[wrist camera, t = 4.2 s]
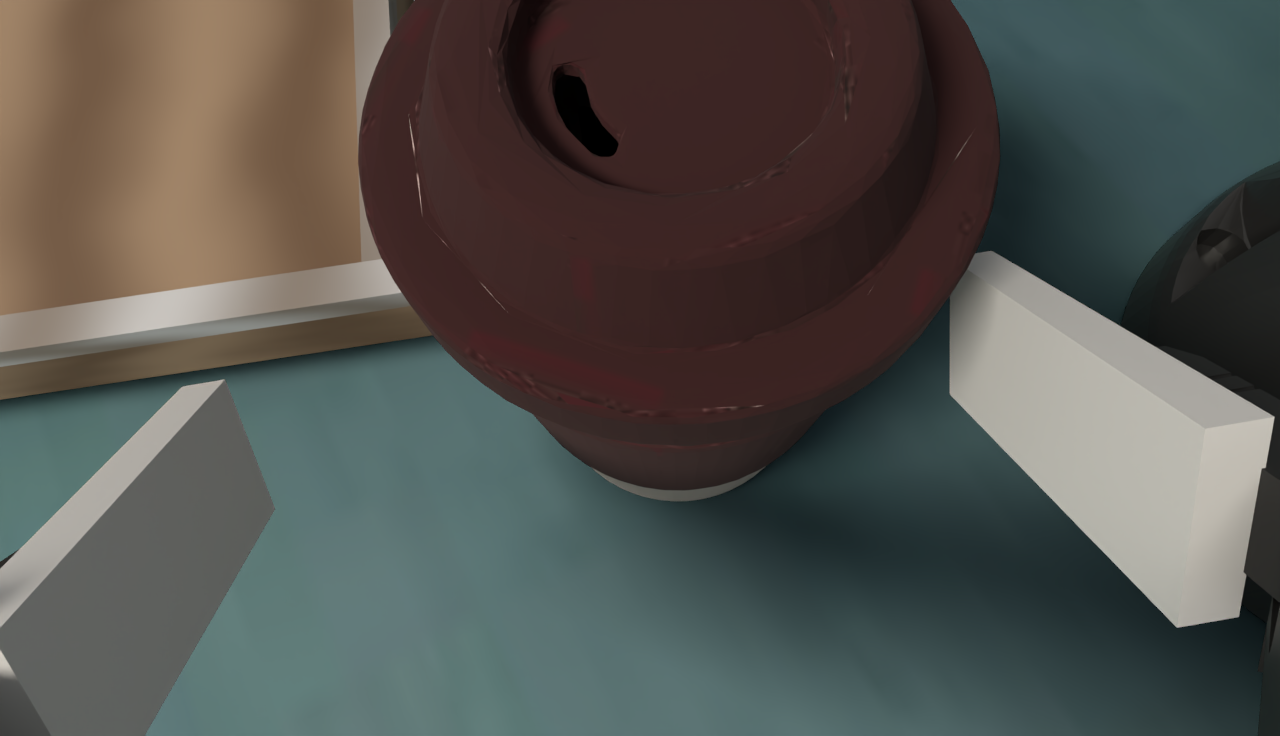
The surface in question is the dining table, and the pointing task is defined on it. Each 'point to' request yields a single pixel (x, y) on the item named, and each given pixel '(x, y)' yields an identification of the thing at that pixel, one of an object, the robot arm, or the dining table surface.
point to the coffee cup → (678, 210)
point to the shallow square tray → (185, 187)
